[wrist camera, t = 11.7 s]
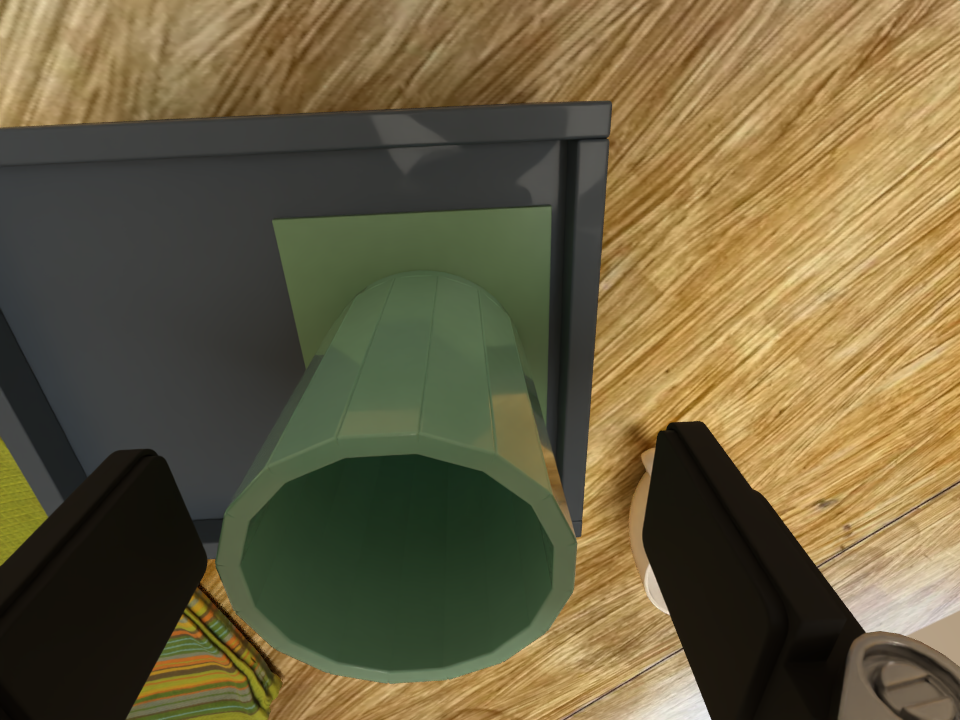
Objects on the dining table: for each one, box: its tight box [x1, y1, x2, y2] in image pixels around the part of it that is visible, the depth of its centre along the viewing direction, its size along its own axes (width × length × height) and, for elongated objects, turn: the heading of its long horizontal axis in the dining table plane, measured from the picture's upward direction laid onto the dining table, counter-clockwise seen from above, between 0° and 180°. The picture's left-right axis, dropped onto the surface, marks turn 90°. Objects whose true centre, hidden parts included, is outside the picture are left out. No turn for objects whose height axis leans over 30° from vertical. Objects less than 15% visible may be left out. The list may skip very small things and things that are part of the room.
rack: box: [0, 101, 612, 559], centre depth 20 cm, size 14×18×11 cm
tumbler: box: [215, 270, 577, 684], centre depth 12 cm, size 6×6×8 cm
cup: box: [629, 447, 670, 615], centre depth 28 cm, size 8×10×7 cm
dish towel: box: [0, 436, 282, 720], centre depth 31 cm, size 15×36×3 cm, turn 20°
